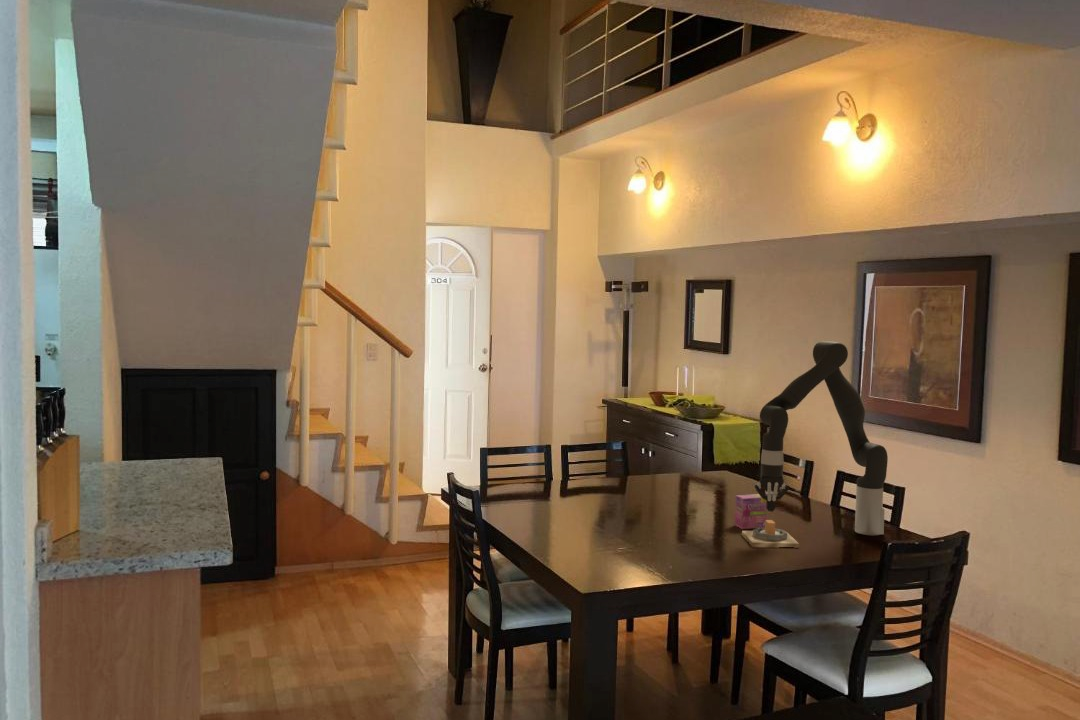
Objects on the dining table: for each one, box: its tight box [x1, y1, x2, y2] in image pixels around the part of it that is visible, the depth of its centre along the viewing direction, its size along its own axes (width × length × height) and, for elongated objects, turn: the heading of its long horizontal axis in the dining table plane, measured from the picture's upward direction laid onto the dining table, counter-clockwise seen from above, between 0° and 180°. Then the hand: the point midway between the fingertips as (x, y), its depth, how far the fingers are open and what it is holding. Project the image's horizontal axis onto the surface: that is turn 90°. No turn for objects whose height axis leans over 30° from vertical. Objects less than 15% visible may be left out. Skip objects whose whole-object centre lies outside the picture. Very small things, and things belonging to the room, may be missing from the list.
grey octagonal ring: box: [752, 527, 788, 541], centre depth 304 cm, size 11×11×2 cm
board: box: [741, 530, 800, 549], centre depth 304 cm, size 16×16×2 cm
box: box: [734, 493, 768, 530], centre depth 324 cm, size 10×6×12 cm, turn 105°
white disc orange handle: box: [760, 519, 780, 535], centre depth 304 cm, size 7×7×6 cm
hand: (770, 511), depth 304 cm, fingers closed
